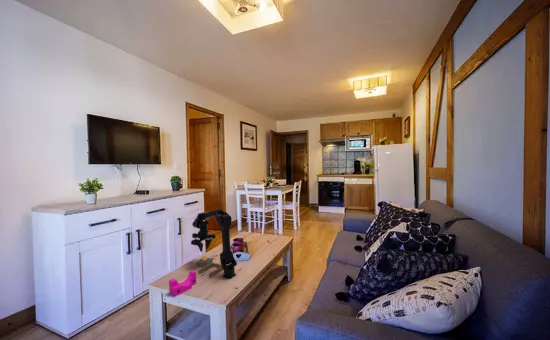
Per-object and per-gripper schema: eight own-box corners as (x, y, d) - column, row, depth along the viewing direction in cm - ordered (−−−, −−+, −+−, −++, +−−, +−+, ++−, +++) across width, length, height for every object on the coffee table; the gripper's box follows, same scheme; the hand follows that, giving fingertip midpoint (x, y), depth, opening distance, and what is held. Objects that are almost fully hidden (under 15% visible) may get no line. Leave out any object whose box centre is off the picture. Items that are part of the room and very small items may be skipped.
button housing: (212, 263, 165) (212, 258, 165) (204, 267, 158) (204, 263, 158) (204, 261, 169) (204, 256, 169) (196, 265, 162) (196, 260, 162)
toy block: (175, 296, 123) (174, 283, 123) (169, 293, 127) (168, 280, 127) (198, 284, 135) (198, 272, 135) (192, 281, 139) (192, 270, 139)
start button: (208, 261, 164) (208, 256, 164) (204, 263, 161) (204, 259, 161) (204, 259, 166) (204, 256, 166) (200, 262, 163) (200, 258, 163)
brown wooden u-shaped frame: (224, 268, 156) (224, 265, 155) (210, 277, 144) (210, 273, 144) (213, 265, 161) (212, 262, 161) (198, 273, 149) (198, 270, 149)
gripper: (205, 225, 175) (205, 244, 175) (185, 231, 159) (186, 253, 159) (215, 226, 170) (216, 247, 170) (196, 233, 153) (197, 256, 154)
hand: (204, 250), depth 163 cm, fingers open, 5 cm apart
